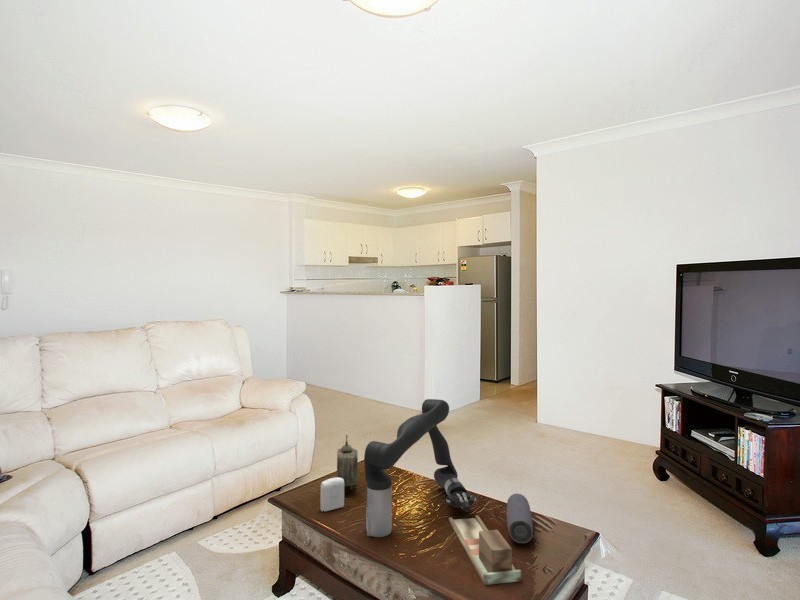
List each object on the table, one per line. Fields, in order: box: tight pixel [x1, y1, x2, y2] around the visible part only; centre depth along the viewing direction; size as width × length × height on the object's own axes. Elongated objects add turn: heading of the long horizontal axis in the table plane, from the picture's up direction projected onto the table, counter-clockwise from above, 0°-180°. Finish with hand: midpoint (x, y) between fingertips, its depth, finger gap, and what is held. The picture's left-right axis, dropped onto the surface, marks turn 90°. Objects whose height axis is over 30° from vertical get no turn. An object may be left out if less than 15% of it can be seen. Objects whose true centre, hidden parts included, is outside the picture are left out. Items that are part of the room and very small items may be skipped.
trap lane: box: [448, 514, 522, 586], centre depth 162 cm, size 12×41×3 cm, turn 9°
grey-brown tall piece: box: [336, 434, 359, 490], centre depth 210 cm, size 14×9×25 cm, turn 6°
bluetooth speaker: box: [505, 493, 534, 544], centre depth 173 cm, size 23×9×10 cm, turn 168°
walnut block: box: [479, 529, 513, 573], centre depth 150 cm, size 6×12×9 cm, turn 10°
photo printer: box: [319, 476, 345, 512], centre depth 192 cm, size 10×4×12 cm, turn 123°
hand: (467, 509), depth 177 cm, fingers closed
